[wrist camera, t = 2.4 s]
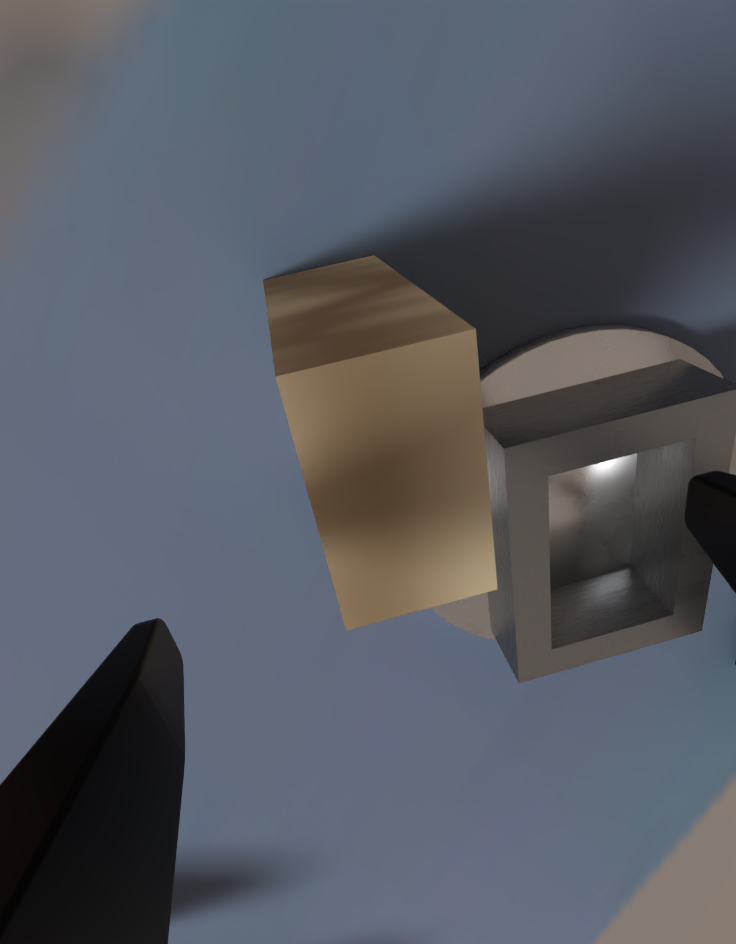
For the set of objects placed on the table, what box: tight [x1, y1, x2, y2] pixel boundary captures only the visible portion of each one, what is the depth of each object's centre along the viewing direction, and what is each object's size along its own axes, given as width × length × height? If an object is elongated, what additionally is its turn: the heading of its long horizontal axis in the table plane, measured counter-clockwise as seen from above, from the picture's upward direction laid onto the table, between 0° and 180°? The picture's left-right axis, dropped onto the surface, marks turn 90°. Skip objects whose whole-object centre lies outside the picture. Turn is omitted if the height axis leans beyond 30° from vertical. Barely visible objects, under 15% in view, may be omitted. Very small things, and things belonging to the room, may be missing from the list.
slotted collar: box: [431, 324, 736, 683], centre depth 22 cm, size 14×14×4 cm
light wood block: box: [263, 255, 497, 631], centre depth 15 cm, size 4×6×9 cm, turn 10°
